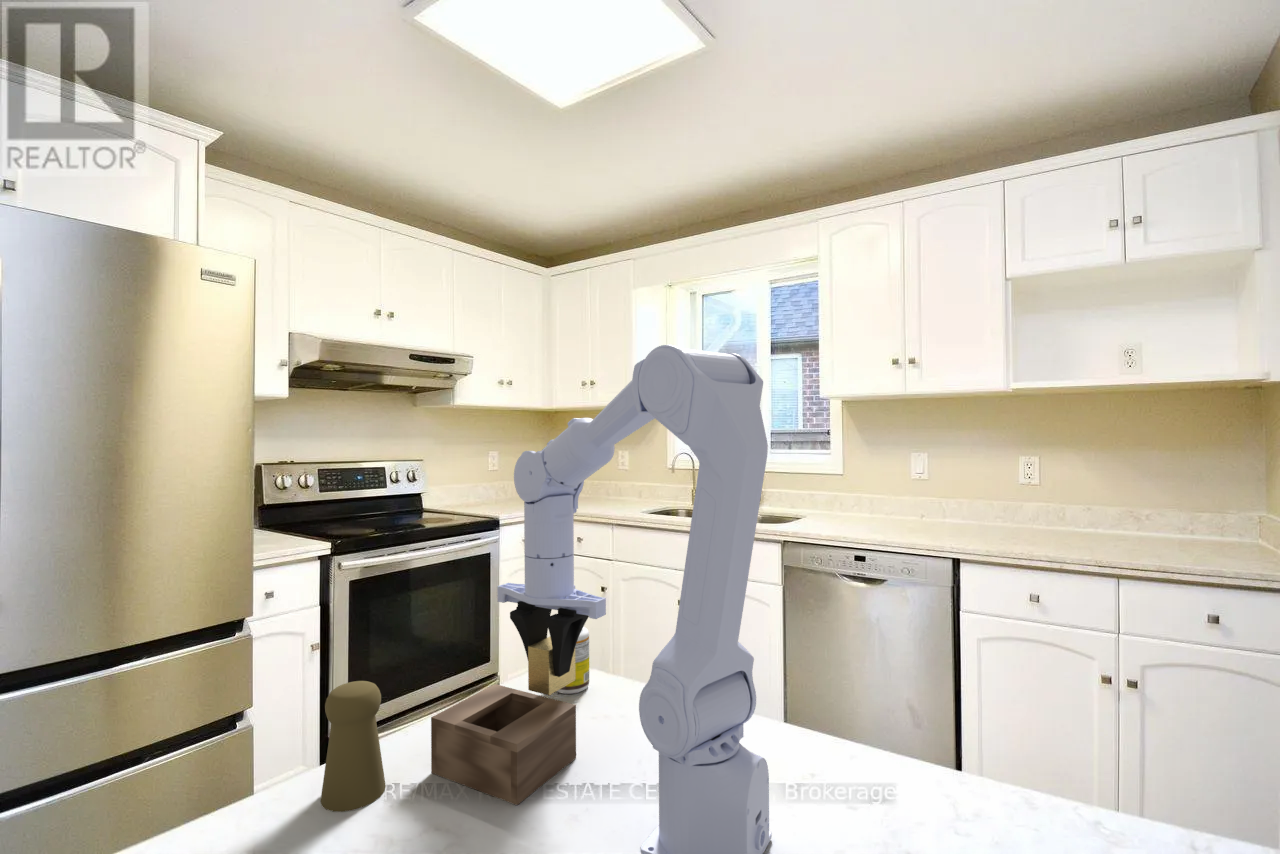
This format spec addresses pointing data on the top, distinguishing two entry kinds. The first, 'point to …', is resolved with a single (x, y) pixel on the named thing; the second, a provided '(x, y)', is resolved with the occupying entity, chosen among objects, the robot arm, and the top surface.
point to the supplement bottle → (580, 665)
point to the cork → (353, 748)
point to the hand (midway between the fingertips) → (549, 670)
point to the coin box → (503, 742)
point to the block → (546, 669)
